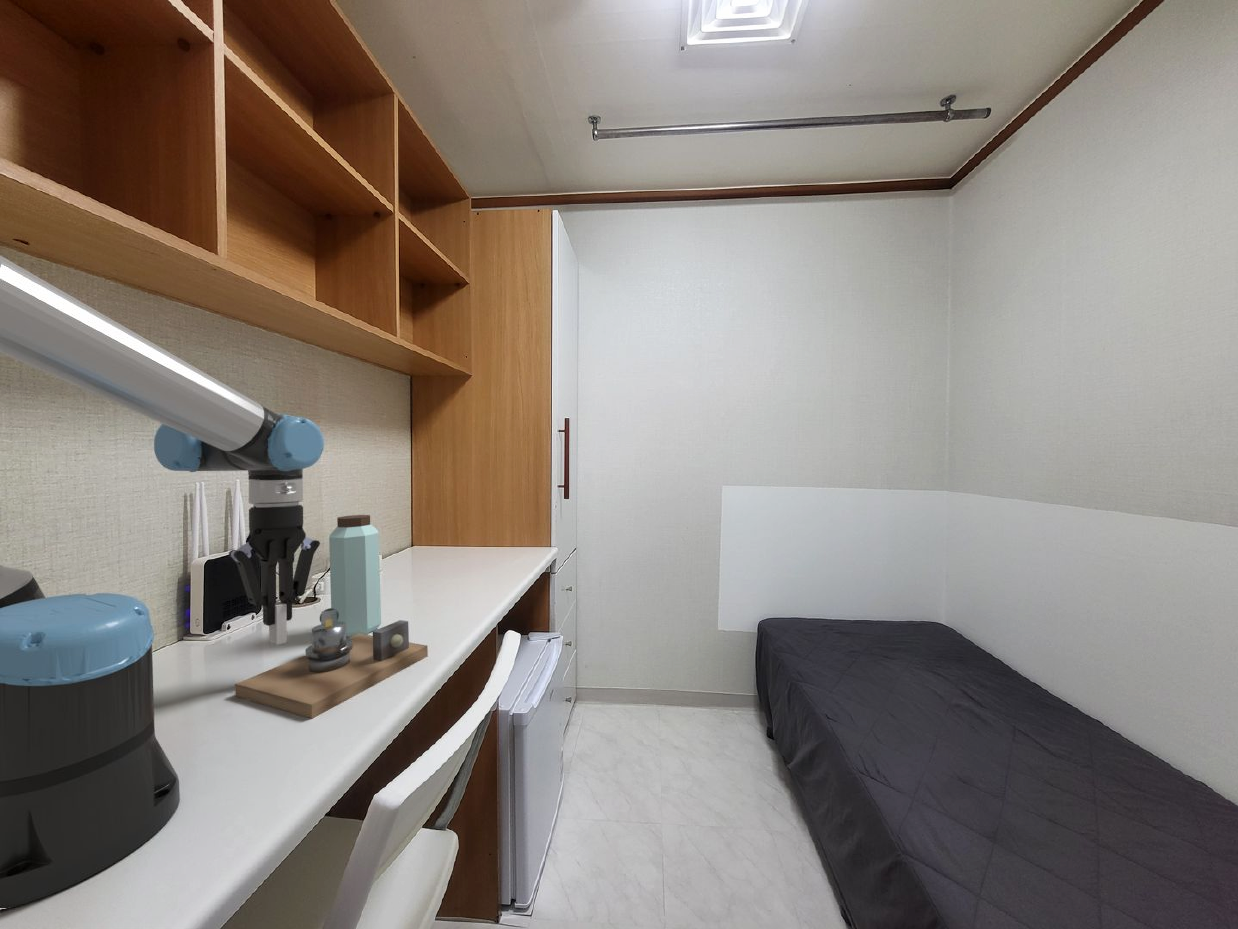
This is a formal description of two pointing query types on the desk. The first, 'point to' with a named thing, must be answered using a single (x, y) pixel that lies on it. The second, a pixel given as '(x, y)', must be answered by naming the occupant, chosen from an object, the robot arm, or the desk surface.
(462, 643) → the desk surface
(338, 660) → the rotary lever board
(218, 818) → the desk surface
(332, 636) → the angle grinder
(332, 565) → the water bottle
